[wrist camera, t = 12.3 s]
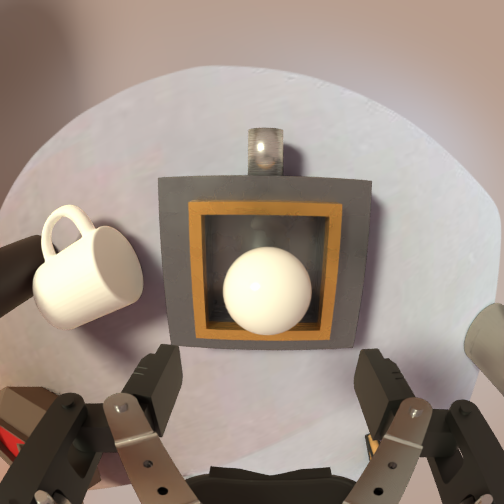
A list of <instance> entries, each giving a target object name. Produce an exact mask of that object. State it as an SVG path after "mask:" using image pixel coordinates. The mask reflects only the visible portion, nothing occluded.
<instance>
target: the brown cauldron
mask: <svg viewBox="0 0 504 504" xmlns="http://www.w3.org/2000/svg"><path fill="white" fill-rule="evenodd" d="M57 397H58V395H56V394H54V393H52V392H50V391H48V390H46V389H45V388H43V387H5V388H3V389H2V390H0V457H2V459H3V460H5V461H6V462H7V463H8V464H9V465H10V466H11V465H12V463H13V461H14V460H15V458H16V457H17V455H18V453H19V452H20V450H21V449H22V447H23V446H24V444H25V443H26V441H27V439H28V438H29V436H30V435H31V433H32V432H33V430H34V429H35V427H36V426H37V425H38V423H39V422H40V420H41V419H42V417H43V416H44V414H45V413H46V411H47V410H48V409H49V407H50V406H51V404H52V403H53V402H54V400H55V399H56V398H57ZM100 481H101V478H100V474H99V470H98V466H97V468H96V470H95V473H94V475H93V477H92V480H91V482H90V485H89V487H88V489H89V488H91V487H92V486H94V485H95V484H97V483H98V482H100ZM82 504H83V502H82Z"/></svg>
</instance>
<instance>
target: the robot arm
mask: <svg viewBox="0 0 504 504" xmlns="http://www.w3.org/2000/svg"><path fill="white" fill-rule="evenodd" d="M464 349H465V353H466V355H467V356H468V357H469V358H470V359H471V360H472V361H473V362H474V364H475V365H476V366H477V367H478V368H479V369H480V370H481V371H482V372H483V373H484V375H485V376H486V377H487V378H488V379H489V380H490V381H491V382H492V384H493V385H494V386H495V387H496V388H497V389H498V390H499V392H500V393H501V394H502V395H503V396H504V305H502V304H499V303H494V304H491V305H489V306H487V307H486V308H485V309H483V310H482V311H481V312H480V313H479V314H478V316H477V317H476V318H475V320H474V321H473V322H472V324H471V326H470V328H469V330H468V332H467V335H466V338H465V344H464ZM182 378H183V374H182V366H181V359H180V351H179V347H178V346H177V345H167V344H161V345H160V346H159V348H158V350H157V352H156V353H155V354H151V353H150V354H148V355H147V356H145V357H144V358H142V359H141V361H140V362H139V364H138V366H137V368H136V369H135V370H134V373H133V374H132V375H131V377H130V379H129V380H128V382H127V384H126V385H125V387H124V388H123V390H122V392H121V393H116V394H113V395H111V396H109V397H108V398H106V400H105V401H104V403H99V404H86V403H85V402H84V400H83V398H82V397H81V396H80V395H78V394H76V393H65V394H62V395H60V396H58V397H57V398H56V399H55V400H54V402H53V403H52V404H51V406H50V407H49V409H48V410H47V411H46V413H45V414H44V416H43V417H42V419H41V420H40V422H39V423H38V425H37V426H36V427H35V429H34V430H33V432H32V433H31V435H30V436H29V438H28V439H27V441H26V443H25V444H24V446H23V447H22V449H21V450H20V452H19V453H18V455H17V457H16V458H15V460H14V461H13V463H12V465H11V466H10V468H9V470H8V471H7V473H6V475H5V476H4V478H3V480H2V481H1V483H0V504H82V502H83V500H84V497H85V494H86V492H87V490H88V487H89V485H90V482H91V480H92V477H93V475H94V473H95V470H96V468H97V465H98V463H99V461H100V458H101V456H102V454H103V452H118V454H119V456H120V458H121V461H122V463H123V466H124V468H125V470H126V473H127V475H128V477H129V479H130V482H131V484H132V486H133V488H134V490H135V492H136V494H137V496H138V498H139V500H140V502H141V504H398V503H399V501H400V499H401V497H402V495H403V493H404V491H405V489H406V487H407V484H408V482H409V480H410V478H411V476H412V473H413V471H414V469H415V466H416V464H417V461H418V459H419V457H427V460H428V463H429V465H430V468H431V471H432V474H433V477H434V479H435V482H436V485H437V488H438V491H439V494H440V497H441V500H442V503H443V504H504V450H503V449H502V447H501V445H500V443H499V442H498V440H497V438H496V437H495V435H494V433H493V432H492V430H491V428H490V427H489V425H488V423H487V422H486V420H485V419H484V417H483V415H482V414H481V412H480V411H479V409H478V407H477V406H476V405H475V404H474V403H472V402H470V401H468V400H457V401H455V402H453V403H452V405H451V407H450V409H449V410H444V409H432V407H431V405H430V404H429V403H428V402H427V401H426V400H424V399H421V398H417V397H415V395H414V394H413V392H412V390H411V388H410V387H409V385H408V383H407V382H406V380H405V379H404V376H403V375H402V373H400V370H399V368H398V366H397V365H396V364H395V363H394V362H393V361H391V360H390V359H389V358H386V359H384V358H383V356H382V354H381V352H380V351H379V349H362V350H361V351H360V354H359V359H358V363H357V367H356V372H355V376H354V389H355V392H356V395H357V397H358V400H359V403H360V406H361V409H362V412H363V414H364V417H365V420H366V423H367V426H368V429H369V432H370V435H371V438H372V441H375V440H381V439H382V441H381V443H380V444H379V446H378V448H377V450H376V452H375V453H374V455H373V457H372V458H371V460H370V462H369V463H368V465H367V467H366V468H365V470H364V472H363V473H362V475H361V476H360V478H359V480H358V481H357V482H355V481H353V480H351V479H348V478H345V477H342V476H337V475H331V469H330V467H326V468H313V469H300V470H296V471H291V472H287V473H282V474H278V475H265V474H260V473H256V472H251V471H247V470H243V469H236V468H223V467H212V466H211V467H210V472H209V474H203V475H198V476H194V477H191V478H188V479H186V480H184V478H183V477H182V475H181V473H180V472H179V470H178V469H177V467H176V466H175V464H174V462H173V461H172V459H171V457H170V456H169V454H168V452H167V451H166V449H165V447H164V446H163V444H162V442H161V440H160V438H159V437H162V436H163V434H164V431H165V428H166V426H167V423H168V420H169V417H170V415H171V412H172V409H173V407H174V404H175V401H176V399H177V396H178V393H179V391H180V388H181V385H182ZM458 448H459V449H460V451H461V453H462V455H463V457H462V455H461V453H460V451H459V449H458Z"/></svg>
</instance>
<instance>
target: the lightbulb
mask: <svg viewBox="0 0 504 504" xmlns="http://www.w3.org/2000/svg"><path fill="white" fill-rule="evenodd" d="M311 296H312V286H311V280H310V277H309V274H308V272H307V270H306V268H305V266H304V265H303V264H302V262H301V261H300V260H299V259H298V258H297V257H295V256H294V255H293V254H291V253H290V252H288V251H286V250H283V249H280V248H276V247H259V248H255V249H252V250H249V251H247V252H245V253H244V254H242V255H241V256H240V257H238V258H237V259H236V260H235V261H234V262H233V264H232V265H231V266H230V268H229V270H228V272H227V274H226V276H225V280H224V284H223V298H224V303H225V306H226V308H227V311H228V313H229V314H230V316H231V317H232V319H233V320H234V321H235V322H236V323H237V324H238V325H239V326H241V327H242V328H244V329H245V330H247V331H249V332H252V333H255V334H259V335H276V334H280V333H283V332H285V331H287V330H289V329H291V328H292V327H294V326H295V325H296V324H297V323H299V322H300V320H301V319H302V318H303V317H304V315H305V314H306V312H307V310H308V308H309V305H310V301H311Z"/></svg>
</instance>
